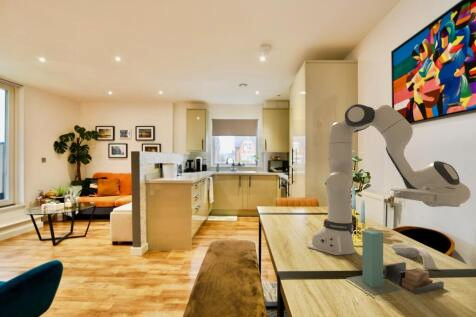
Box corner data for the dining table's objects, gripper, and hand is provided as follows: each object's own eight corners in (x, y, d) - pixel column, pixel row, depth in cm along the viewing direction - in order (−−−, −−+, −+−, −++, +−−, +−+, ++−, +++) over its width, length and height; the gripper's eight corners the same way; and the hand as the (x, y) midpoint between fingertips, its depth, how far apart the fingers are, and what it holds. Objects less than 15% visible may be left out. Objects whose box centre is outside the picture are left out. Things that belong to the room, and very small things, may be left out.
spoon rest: (386, 250, 121) (386, 235, 121) (412, 251, 119) (411, 236, 119) (415, 271, 97) (415, 253, 97) (447, 272, 96) (447, 254, 96)
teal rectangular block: (372, 287, 81) (372, 233, 82) (362, 281, 85) (362, 230, 85) (383, 285, 83) (383, 232, 83) (373, 279, 87) (373, 229, 87)
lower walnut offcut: (413, 291, 79) (413, 283, 79) (401, 285, 83) (401, 278, 83) (432, 287, 82) (432, 280, 82) (420, 281, 85) (420, 274, 86)
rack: (415, 297, 77) (415, 281, 77) (379, 278, 90) (379, 264, 90) (443, 291, 81) (443, 276, 81) (404, 273, 94) (404, 260, 94)
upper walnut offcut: (416, 283, 79) (416, 275, 79) (405, 278, 82) (405, 271, 82) (428, 279, 82) (428, 272, 82) (417, 275, 85) (417, 268, 85)
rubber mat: (374, 298, 76) (374, 295, 76) (346, 280, 88) (346, 278, 88) (402, 292, 80) (402, 289, 80) (371, 276, 91) (371, 273, 91)
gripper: (407, 184, 103) (382, 185, 99) (464, 189, 84) (437, 190, 80) (407, 199, 103) (383, 201, 99) (465, 207, 84) (437, 209, 80)
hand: (407, 196), depth 89 cm, fingers open, 8 cm apart
